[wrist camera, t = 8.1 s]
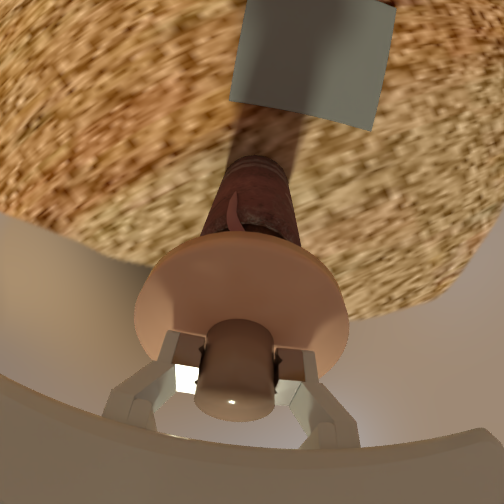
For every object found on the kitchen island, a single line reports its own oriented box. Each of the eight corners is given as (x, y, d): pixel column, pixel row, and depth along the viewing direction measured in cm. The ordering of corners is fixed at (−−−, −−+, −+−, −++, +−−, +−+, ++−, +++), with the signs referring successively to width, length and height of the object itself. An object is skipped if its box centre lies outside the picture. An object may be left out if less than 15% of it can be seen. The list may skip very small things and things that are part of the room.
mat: (253, -27, 18) (253, -29, 17) (394, 9, 19) (396, 8, 18) (229, 100, 25) (228, 100, 24) (369, 130, 25) (371, 131, 25)
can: (269, 140, 26) (274, 194, 14) (296, 199, 29) (318, 289, 17) (210, 168, 28) (169, 240, 16) (241, 222, 31) (226, 321, 19)
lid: (136, 216, 11) (83, 283, 7) (373, 250, 11) (412, 327, 8) (150, 366, 15) (130, 430, 12) (311, 387, 16) (317, 453, 12)
